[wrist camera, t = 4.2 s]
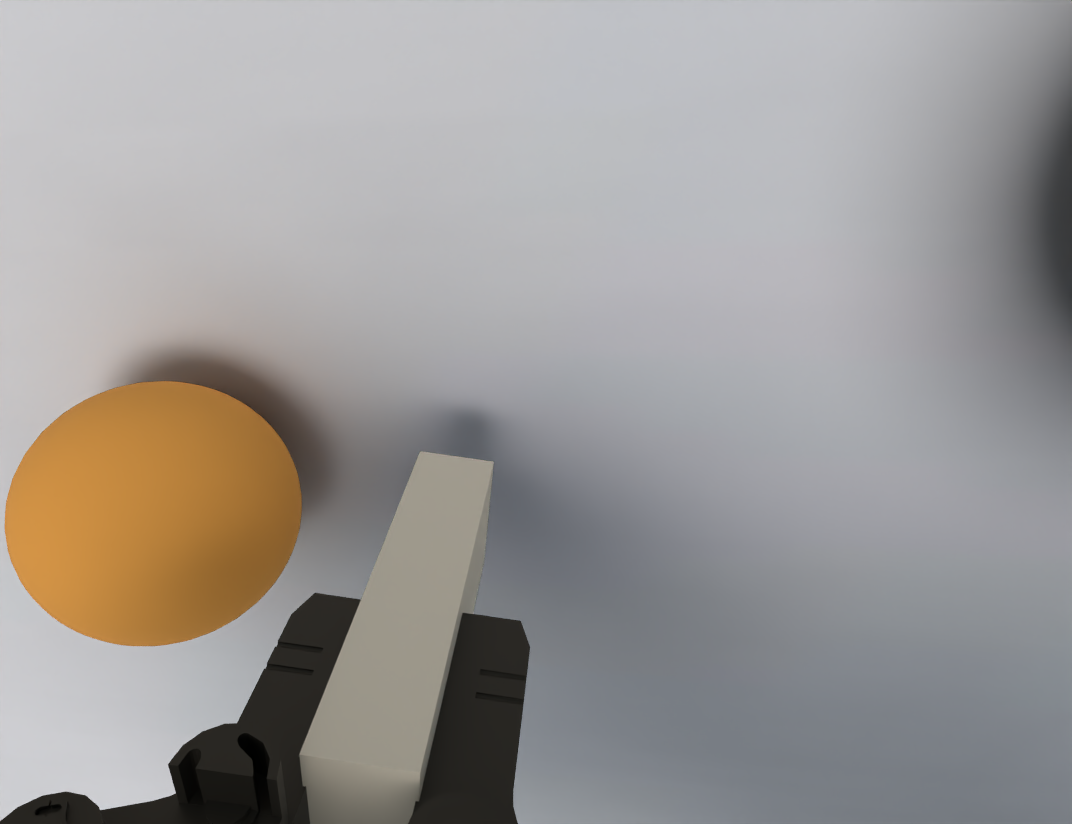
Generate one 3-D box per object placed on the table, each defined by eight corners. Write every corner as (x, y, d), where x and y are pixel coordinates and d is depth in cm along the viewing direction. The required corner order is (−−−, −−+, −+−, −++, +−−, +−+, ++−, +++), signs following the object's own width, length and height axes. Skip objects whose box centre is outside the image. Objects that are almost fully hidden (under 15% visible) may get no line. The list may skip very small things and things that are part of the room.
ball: (342, 539, 19) (251, 723, 14) (140, 514, 19) (-16, 685, 14) (328, 353, 16) (208, 503, 11) (91, 325, 16) (-124, 461, 11)
